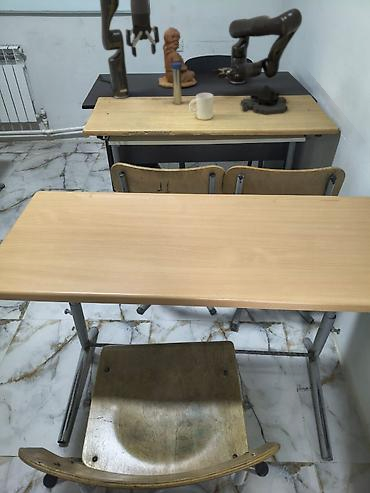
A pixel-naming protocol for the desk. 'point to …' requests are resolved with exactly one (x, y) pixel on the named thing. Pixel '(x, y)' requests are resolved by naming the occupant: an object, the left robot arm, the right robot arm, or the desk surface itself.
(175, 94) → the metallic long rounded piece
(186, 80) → the sculpture
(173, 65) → the lid
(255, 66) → the right robot arm
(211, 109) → the mug
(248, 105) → the abstract sculpture
